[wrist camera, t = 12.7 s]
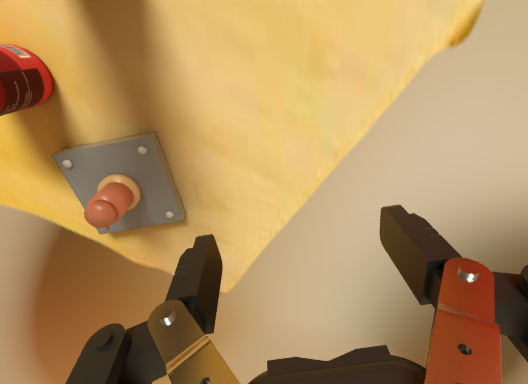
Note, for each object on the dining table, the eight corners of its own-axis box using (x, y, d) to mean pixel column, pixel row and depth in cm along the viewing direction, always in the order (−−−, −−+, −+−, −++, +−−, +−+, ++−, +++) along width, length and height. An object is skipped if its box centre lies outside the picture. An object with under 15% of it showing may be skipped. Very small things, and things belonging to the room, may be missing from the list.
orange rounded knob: (97, 184, 40) (73, 205, 35) (126, 179, 40) (106, 200, 34) (111, 210, 42) (90, 233, 37) (138, 205, 42) (122, 228, 37)
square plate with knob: (62, 148, 41) (44, 158, 38) (155, 131, 40) (145, 139, 37) (106, 225, 48) (95, 240, 45) (186, 212, 47) (180, 225, 44)
